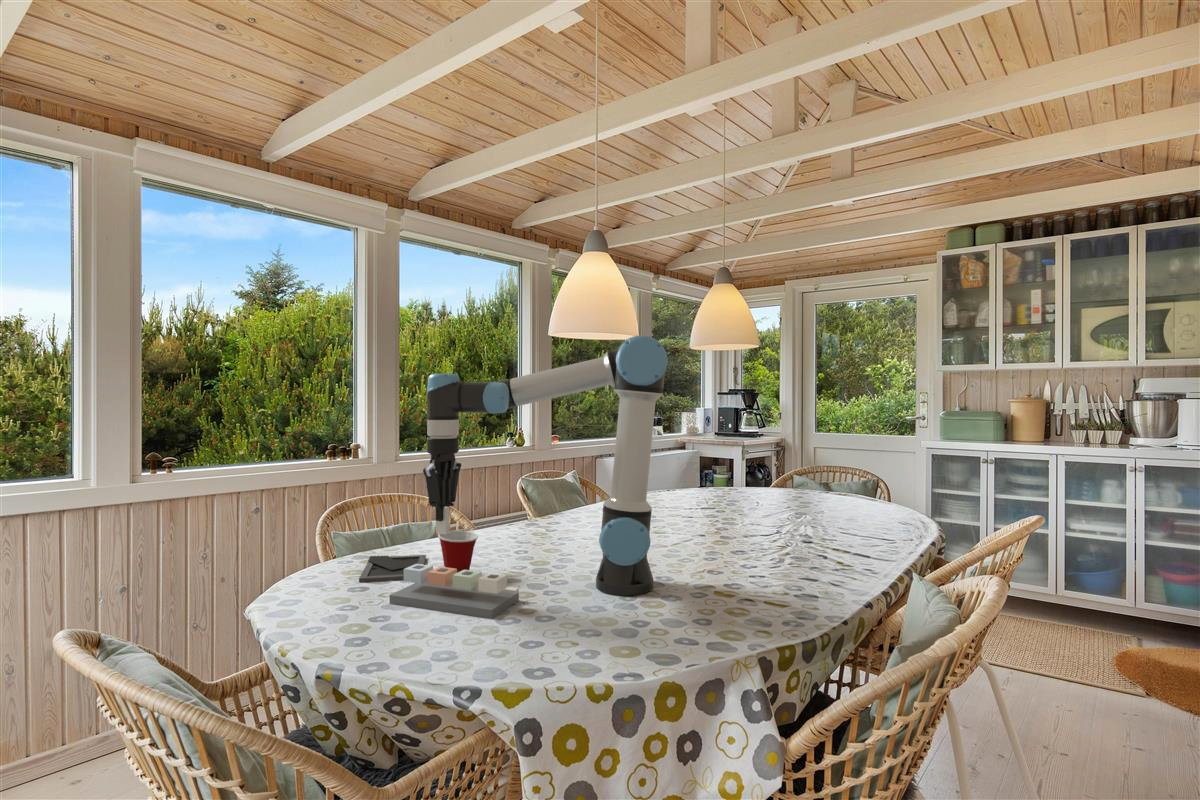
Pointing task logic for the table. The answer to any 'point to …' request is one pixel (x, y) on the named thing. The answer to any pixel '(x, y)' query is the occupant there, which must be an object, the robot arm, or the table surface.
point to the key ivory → (492, 583)
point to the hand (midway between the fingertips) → (442, 533)
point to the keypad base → (456, 599)
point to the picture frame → (389, 567)
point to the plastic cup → (458, 549)
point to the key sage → (466, 579)
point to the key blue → (417, 573)
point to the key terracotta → (441, 576)
